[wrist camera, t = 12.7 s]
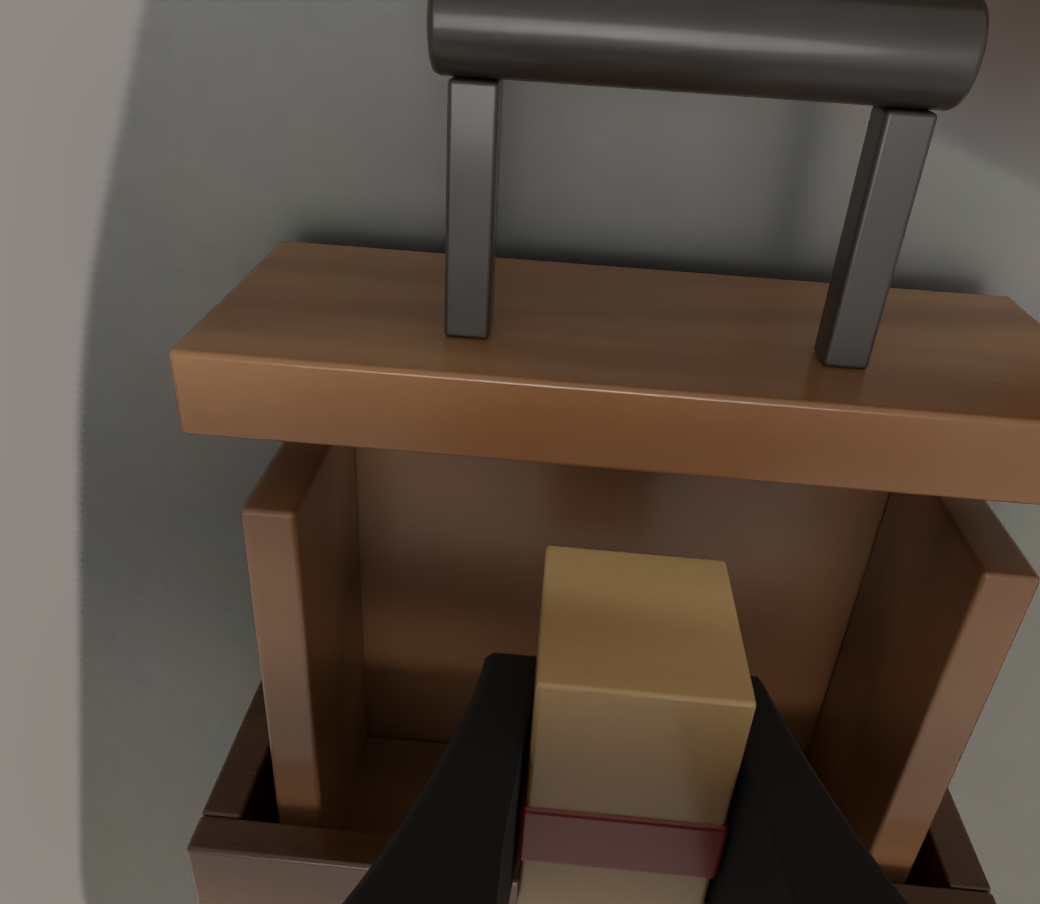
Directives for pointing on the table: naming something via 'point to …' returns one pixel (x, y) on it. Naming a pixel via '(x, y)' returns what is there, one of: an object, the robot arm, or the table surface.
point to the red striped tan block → (632, 729)
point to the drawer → (635, 428)
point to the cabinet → (349, 854)
